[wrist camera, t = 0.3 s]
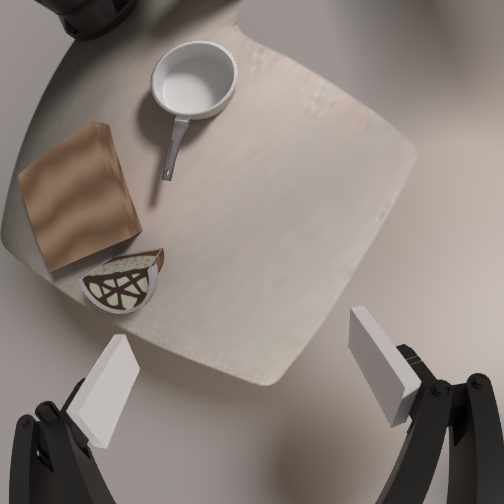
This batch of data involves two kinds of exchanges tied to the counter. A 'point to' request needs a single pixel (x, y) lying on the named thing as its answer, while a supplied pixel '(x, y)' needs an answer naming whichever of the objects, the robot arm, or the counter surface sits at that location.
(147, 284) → the food container
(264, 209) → the counter surface
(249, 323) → the counter surface
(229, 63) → the saucepan
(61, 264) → the walnut base
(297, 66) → the counter surface
